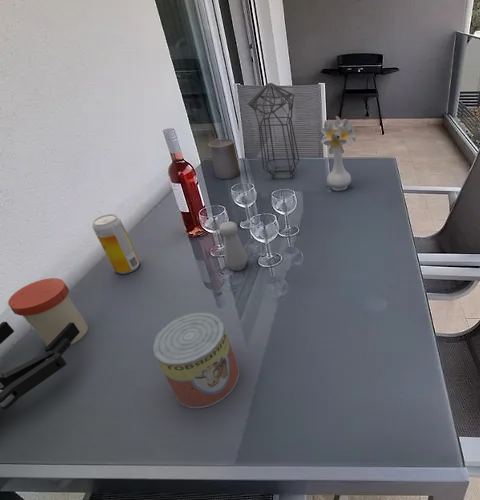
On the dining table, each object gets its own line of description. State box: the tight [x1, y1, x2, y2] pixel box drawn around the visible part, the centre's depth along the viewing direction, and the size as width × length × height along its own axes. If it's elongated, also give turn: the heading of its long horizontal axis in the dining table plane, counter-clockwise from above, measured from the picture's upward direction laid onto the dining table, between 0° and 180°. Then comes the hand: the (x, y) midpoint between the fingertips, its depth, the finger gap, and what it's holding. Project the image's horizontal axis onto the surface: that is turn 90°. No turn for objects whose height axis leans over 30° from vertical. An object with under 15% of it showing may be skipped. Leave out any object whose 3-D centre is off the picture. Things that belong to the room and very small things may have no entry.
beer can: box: [92, 213, 140, 275], centre depth 90 cm, size 6×6×15 cm
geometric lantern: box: [247, 82, 300, 180], centre depth 135 cm, size 16×16×35 cm
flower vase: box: [319, 115, 357, 192], centre depth 125 cm, size 13×18×25 cm
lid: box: [7, 277, 70, 317], centre depth 68 cm, size 9×9×2 cm
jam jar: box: [22, 294, 89, 347], centre depth 71 cm, size 8×8×12 cm
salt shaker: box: [219, 221, 249, 272], centre depth 90 cm, size 6×6×13 cm
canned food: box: [151, 311, 240, 410], centre depth 61 cm, size 11×11×12 cm
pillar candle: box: [207, 138, 241, 180], centre depth 142 cm, size 10×10×15 cm
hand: (41, 326), depth 69 cm, fingers open, 13 cm apart
